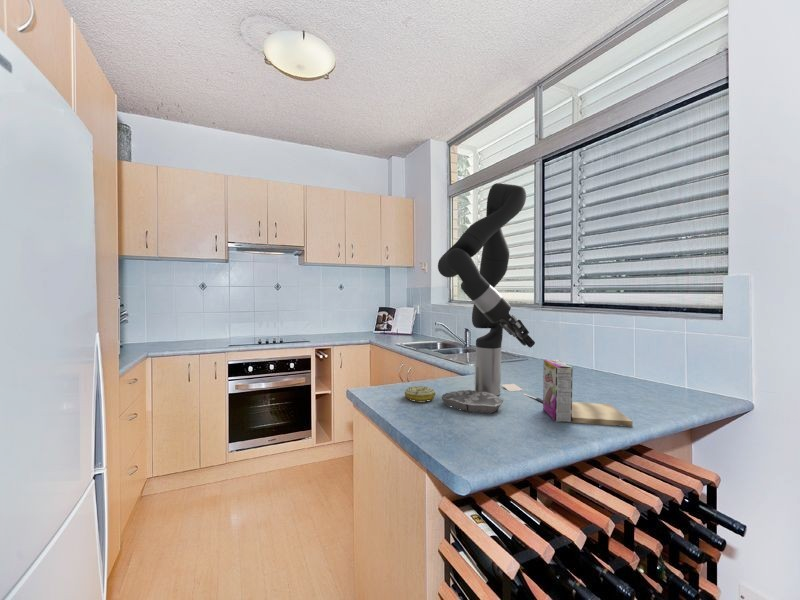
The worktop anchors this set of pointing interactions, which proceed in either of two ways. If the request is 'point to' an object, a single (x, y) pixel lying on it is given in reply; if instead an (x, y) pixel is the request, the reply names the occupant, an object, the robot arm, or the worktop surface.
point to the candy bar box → (557, 390)
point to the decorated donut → (420, 393)
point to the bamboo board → (598, 414)
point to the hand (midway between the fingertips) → (529, 344)
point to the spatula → (515, 388)
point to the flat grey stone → (472, 401)
